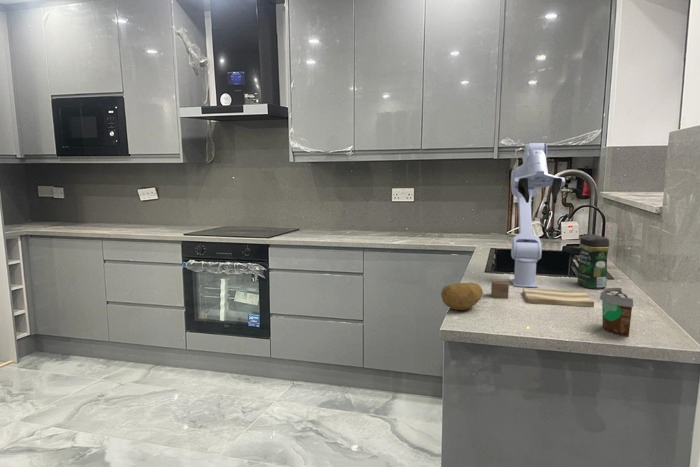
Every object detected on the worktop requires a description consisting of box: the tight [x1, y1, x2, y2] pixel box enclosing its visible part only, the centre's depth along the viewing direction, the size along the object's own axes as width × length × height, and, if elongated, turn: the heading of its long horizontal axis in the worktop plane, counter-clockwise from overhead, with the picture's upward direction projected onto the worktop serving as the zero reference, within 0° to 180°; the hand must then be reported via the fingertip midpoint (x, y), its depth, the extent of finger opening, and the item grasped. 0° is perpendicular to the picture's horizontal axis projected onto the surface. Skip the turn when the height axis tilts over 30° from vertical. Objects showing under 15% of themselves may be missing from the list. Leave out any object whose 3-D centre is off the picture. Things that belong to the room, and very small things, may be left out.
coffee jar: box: [577, 233, 610, 290], centre depth 170 cm, size 10×8×19 cm
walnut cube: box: [490, 279, 510, 300], centre depth 157 cm, size 5×5×5 cm
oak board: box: [522, 287, 595, 308], centre depth 154 cm, size 13×19×2 cm
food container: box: [599, 287, 634, 337], centre depth 125 cm, size 12×6×10 cm, turn 163°
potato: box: [440, 282, 483, 311], centre depth 143 cm, size 10×14×8 cm
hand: (541, 200), depth 142 cm, fingers open, 7 cm apart
